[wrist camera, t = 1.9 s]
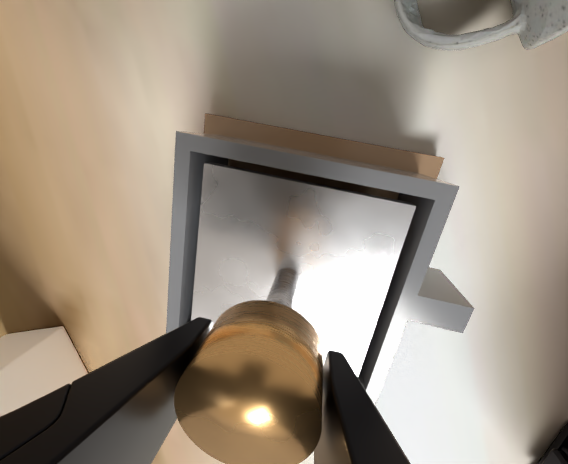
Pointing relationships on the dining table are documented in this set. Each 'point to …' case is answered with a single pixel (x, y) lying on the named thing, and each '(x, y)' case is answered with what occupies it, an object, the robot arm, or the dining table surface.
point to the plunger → (280, 307)
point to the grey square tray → (336, 173)
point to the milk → (36, 366)
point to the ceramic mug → (526, 23)
